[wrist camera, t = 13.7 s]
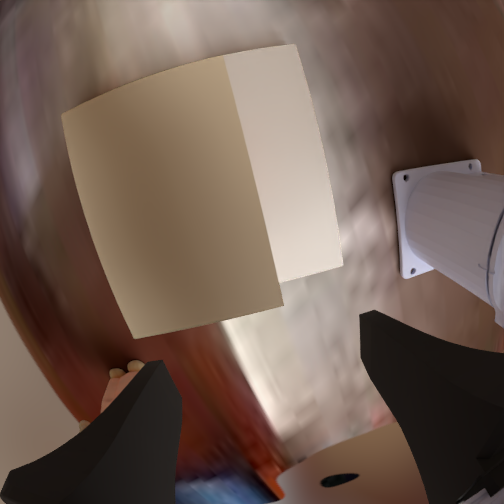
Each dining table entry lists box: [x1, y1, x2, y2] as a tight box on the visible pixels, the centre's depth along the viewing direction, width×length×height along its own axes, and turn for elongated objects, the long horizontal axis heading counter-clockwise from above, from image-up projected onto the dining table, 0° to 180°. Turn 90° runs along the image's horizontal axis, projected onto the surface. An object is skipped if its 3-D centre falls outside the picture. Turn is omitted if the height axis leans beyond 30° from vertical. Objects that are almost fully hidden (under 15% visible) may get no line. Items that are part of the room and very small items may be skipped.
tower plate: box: [223, 44, 343, 283], centre depth 16 cm, size 14×14×2 cm
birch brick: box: [61, 55, 284, 339], centre depth 9 cm, size 4×6×5 cm, turn 14°
